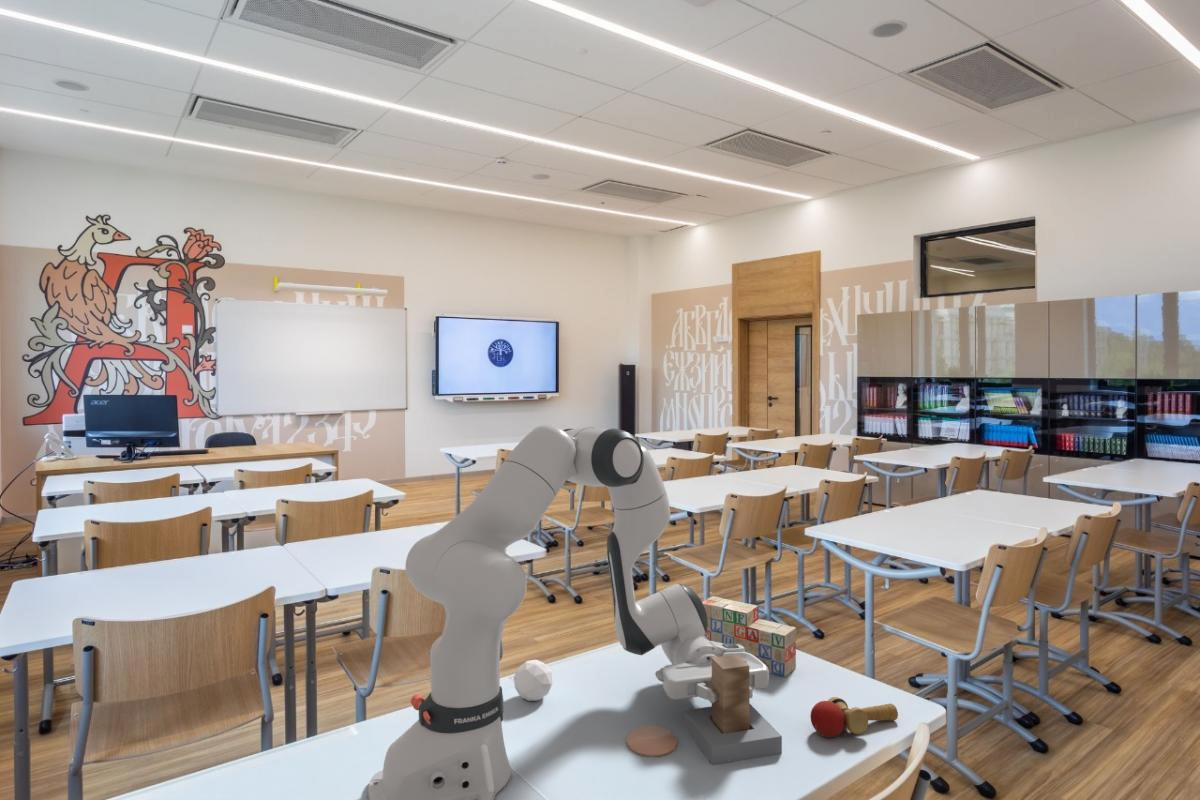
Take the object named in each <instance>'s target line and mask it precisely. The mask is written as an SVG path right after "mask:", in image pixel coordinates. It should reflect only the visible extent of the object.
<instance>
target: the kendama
mask: <svg viewBox="0 0 1200 800" xmlns="http://www.w3.org/2000/svg"><path fill="white" fill-rule="evenodd" d="M898 713H899V712H898V709H897V707H896V706H895V705H894V703H885V704H881V705H874V706H866V707H862V708H860V707H855V706H853V707H851V708H849V705H848V704H847V702H846V701H845V700H844V699H842V698H841V697H838V696H832V697H829V698H828V700H821V701H819V702H817V703H815V704H814V706H813V707H812V709H811V711H810V715H809V716H810V722H811V724H812V727H813V729H814V730H815V732H816V733H818V734H819V735H820V736H821V737H823V738H835V737H837V736H839V735H841V733H843V731H844V729H845V728H846V729H847V730H848V731H849V732H850V733H851V734H855V735H861V734H863V733H865V731H866V730H867V728H868V725H869V721H890V722H892V721H893V720H895V721H897V720H898V717H899V714H898ZM893 722H894V721H893Z"/></svg>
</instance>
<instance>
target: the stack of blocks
mask: <svg viewBox="0 0 1200 800" xmlns="http://www.w3.org/2000/svg"><path fill="white" fill-rule="evenodd" d="M701 601H702V600H701ZM702 603H703V605H704V608H705V610H706V614H707V619H708V624H707V631H706V634H705V638H706V639H708V640H709V641H714V642H718V643H724V644H739V645H742V646H743V647H744V648H745V652H747V653H750V654H752V655H754V656H755V657H757V658H758V659H759V660H760V661H762V662H763V663H764V664H765V665H766V666H767V667H768V670H769V674H772V675H775V676H779V677H783V678H785V677H787V675H789V674H790V673H791V672H793V671H794V670H795V669H796V667H797V657H796V656H797V649H796V647H797V644H796V641H797V627H795V626H791V625H786V624H782V623H779V622H775V621H774V622H773V621H770V620H766V619H761V618H759V616H760V615H759V612H760V611H759V605H757V604H751V603H747V602H742V601H738V600H732V599H727V598H723V597H720V596H710V597H708V598H706V599H704V600H703V601H702Z"/></svg>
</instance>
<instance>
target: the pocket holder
mask: <svg viewBox="0 0 1200 800" xmlns="http://www.w3.org/2000/svg"><path fill="white" fill-rule="evenodd" d="M683 727H684V728H685V730H686V731H687V732H688V734H689V735H690V737H691V738H692V740H693V741H694V742H695V743H696V745H697V746H698V748H699V749H700V750H701V752H702V753H703V754H704V755H705V757H706V758H707V760H708V761H709V762H710V764H711V765H717V764H723V763H729V762H736V761H742V760H747V759H749V760H750V759H753V758H760V757H766V756H773V755H778V754H779V755H780V754H782V753H783V750H782V749H783V738H782V737H783V736H782V734H780V732H778V731H777V730H776V728H775V727H773V725H771V724H770V723H769V721H767V720H766V719H765V717H764V716H763V715H762V714H761V713H760V712H759V711H758V710H757V709H756V708H755V707H754V706H753V705H752V704H751V703H750V730H745V731H738V732H732V733H725V734H722V733H721V732H720V731H719V730H718V728H717V727H716V726H715V725H714V723H713V722H712V705H711V706H705V707H698V708H691V709H684V710H683Z"/></svg>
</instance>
